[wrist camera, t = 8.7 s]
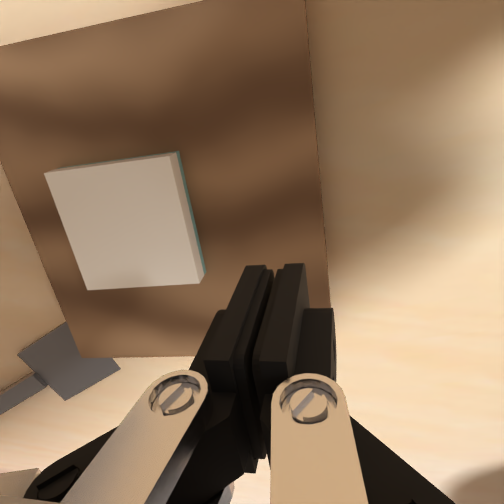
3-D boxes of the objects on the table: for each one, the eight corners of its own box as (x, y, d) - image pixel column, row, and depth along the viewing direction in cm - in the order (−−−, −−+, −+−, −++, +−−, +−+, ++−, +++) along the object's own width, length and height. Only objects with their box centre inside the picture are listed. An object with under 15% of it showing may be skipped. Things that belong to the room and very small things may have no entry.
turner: (-55, 401, 37) (-64, 409, 37) (82, 309, 31) (75, 316, 30) (-9, 440, 39) (-17, 449, 38) (129, 360, 33) (125, 368, 32)
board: (-23, 57, 23) (-43, 56, 22) (303, -15, 19) (302, -22, 18) (91, 346, 32) (81, 358, 31) (333, 340, 28) (334, 353, 26)
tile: (179, 150, 22) (60, 167, 24) (169, 155, 21) (43, 173, 22) (206, 271, 25) (99, 279, 27) (199, 283, 24) (87, 290, 26)
